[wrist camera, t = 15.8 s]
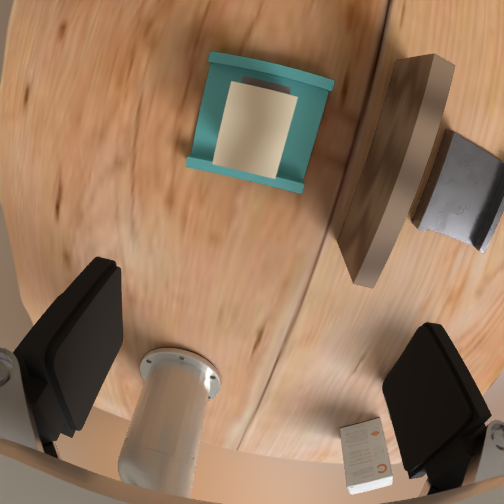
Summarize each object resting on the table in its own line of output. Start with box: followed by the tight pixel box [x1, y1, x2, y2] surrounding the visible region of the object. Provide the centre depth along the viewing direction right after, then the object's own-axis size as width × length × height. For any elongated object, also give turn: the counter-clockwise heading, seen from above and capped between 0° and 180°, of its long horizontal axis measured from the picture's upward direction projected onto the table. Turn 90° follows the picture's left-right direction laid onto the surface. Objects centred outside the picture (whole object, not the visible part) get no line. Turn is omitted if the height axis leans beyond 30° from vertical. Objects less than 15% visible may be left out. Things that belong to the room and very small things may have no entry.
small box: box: [340, 418, 393, 495], centre depth 45 cm, size 8×6×13 cm
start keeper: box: [412, 129, 504, 253], centre depth 28 cm, size 11×11×2 cm
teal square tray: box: [186, 51, 335, 194], centre depth 27 cm, size 11×11×2 cm
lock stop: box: [212, 76, 298, 179], centre depth 23 cm, size 4×7×8 cm
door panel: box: [337, 54, 455, 288], centre depth 25 cm, size 20×2×8 cm, turn 167°
